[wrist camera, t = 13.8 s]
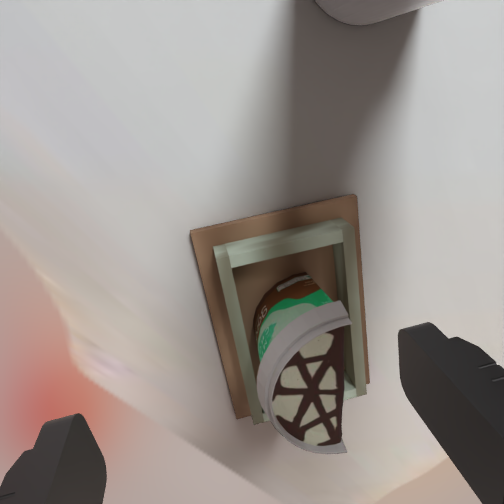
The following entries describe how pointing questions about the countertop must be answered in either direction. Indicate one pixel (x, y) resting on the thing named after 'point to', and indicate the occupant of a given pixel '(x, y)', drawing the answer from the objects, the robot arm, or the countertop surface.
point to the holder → (274, 270)
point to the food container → (302, 363)
